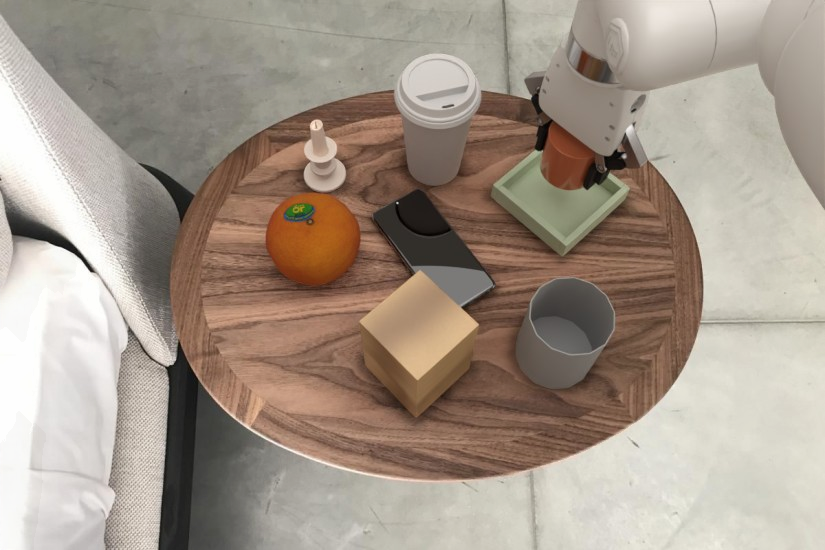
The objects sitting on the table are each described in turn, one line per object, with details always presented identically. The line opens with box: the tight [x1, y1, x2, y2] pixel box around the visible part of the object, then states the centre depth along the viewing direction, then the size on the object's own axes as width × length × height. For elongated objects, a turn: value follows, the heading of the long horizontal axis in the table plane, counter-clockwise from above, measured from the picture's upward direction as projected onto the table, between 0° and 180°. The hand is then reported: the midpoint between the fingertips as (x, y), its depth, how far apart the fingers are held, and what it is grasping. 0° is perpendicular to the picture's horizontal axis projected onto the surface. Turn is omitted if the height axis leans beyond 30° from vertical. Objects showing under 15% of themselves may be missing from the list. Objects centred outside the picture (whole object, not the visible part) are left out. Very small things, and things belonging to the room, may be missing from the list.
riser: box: [358, 270, 480, 419], centre depth 73 cm, size 8×8×12 cm
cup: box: [514, 276, 616, 390], centre depth 74 cm, size 8×8×10 cm
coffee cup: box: [393, 53, 482, 187], centre depth 83 cm, size 10×10×15 cm
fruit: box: [265, 192, 362, 287], centre depth 81 cm, size 11×10×8 cm
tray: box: [490, 149, 631, 258], centre depth 87 cm, size 12×12×3 cm
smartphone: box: [371, 188, 497, 310], centre depth 84 cm, size 7×1×16 cm
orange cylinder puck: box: [540, 120, 595, 190], centre depth 80 cm, size 6×6×6 cm
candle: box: [303, 119, 347, 194], centre depth 85 cm, size 5×5×10 cm
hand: (569, 161), depth 81 cm, fingers closed on orange cylinder puck, 6 cm apart
